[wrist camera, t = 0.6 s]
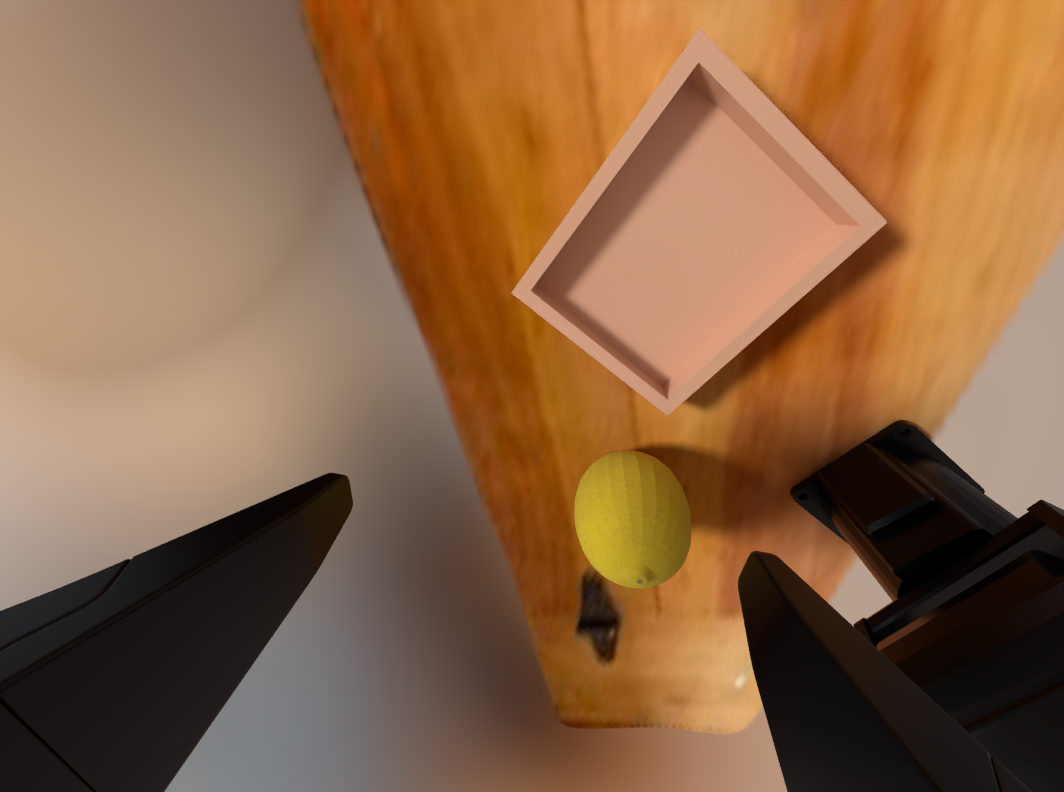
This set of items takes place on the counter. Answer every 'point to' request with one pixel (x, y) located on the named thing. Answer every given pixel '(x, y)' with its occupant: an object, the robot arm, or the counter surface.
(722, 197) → the dish
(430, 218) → the counter surface
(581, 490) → the lemon
